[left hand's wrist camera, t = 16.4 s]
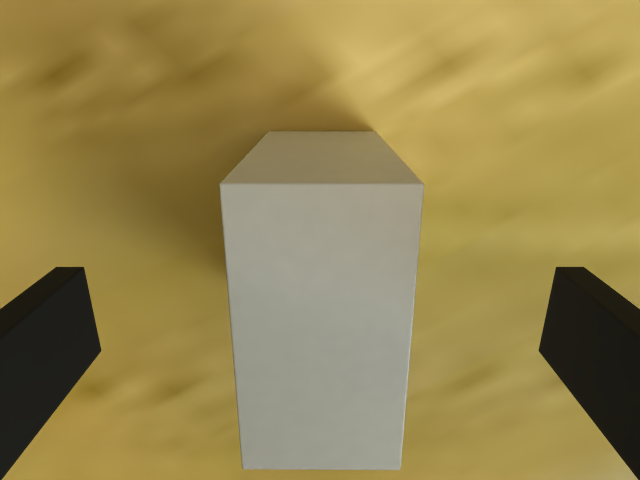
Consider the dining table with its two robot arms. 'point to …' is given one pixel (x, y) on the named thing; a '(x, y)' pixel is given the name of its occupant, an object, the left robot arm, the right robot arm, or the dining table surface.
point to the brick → (321, 298)
